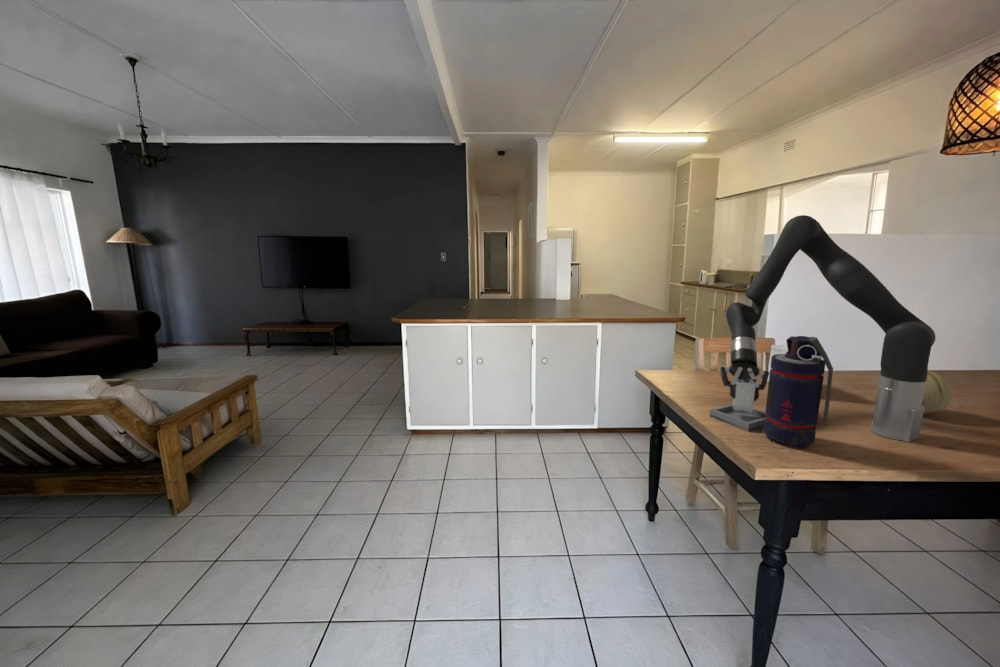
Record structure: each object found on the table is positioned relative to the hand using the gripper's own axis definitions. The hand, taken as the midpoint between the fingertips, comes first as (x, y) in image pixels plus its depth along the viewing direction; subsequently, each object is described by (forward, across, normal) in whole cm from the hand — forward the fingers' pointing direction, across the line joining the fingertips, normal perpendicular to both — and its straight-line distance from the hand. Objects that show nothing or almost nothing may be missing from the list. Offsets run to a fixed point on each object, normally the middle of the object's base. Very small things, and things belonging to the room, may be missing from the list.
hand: (744, 398), depth 123 cm
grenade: (+12, +11, -1) cm, 17 cm away
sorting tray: (+4, 0, +7) cm, 8 cm away
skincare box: (-26, +21, +38) cm, 51 cm away
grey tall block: (+2, 0, +5) cm, 5 cm away
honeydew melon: (-17, +53, +28) cm, 62 cm away
